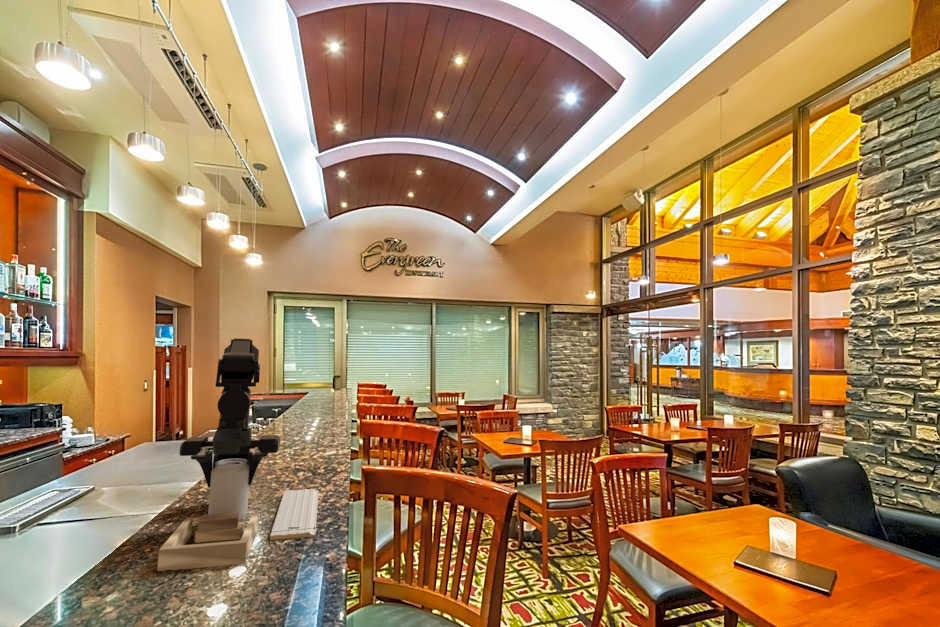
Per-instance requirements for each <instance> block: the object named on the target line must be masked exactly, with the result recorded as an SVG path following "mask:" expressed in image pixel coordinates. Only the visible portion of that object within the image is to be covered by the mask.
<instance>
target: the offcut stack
mask: <svg viewBox="0 0 940 627" xmlns="http://www.w3.org/2000/svg"><path fill="white" fill-rule="evenodd" d="M197 525H198V526H197V529H196V531H195V532H194V533H195V534H194V544H195V543H196V544H199V543H208V542H209V543H211V542H223V541H231V540H232V541H235V540H241V538H242V536H243V534H244V531H245V522H244V521H239V512H235V513H225V514H215V515H208V514H207V515H206V514H205V515H201V516H200V518H199V520H198V524H197Z"/></svg>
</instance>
